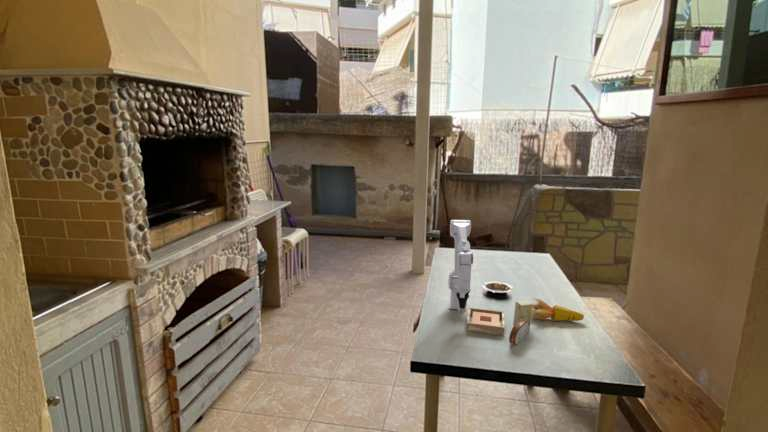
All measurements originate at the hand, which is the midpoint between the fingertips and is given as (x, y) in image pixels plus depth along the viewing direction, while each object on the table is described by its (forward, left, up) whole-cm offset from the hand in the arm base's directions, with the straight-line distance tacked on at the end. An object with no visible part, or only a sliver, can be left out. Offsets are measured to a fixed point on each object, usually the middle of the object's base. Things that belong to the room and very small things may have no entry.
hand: (462, 306), depth 187 cm
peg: (0, 0, -2) cm, 2 cm away
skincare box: (-5, +27, -10) cm, 29 cm away
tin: (+7, +25, -10) cm, 27 cm away
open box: (-3, +11, -9) cm, 14 cm away
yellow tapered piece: (-16, +42, -10) cm, 46 cm away
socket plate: (-3, +11, -9) cm, 14 cm away
